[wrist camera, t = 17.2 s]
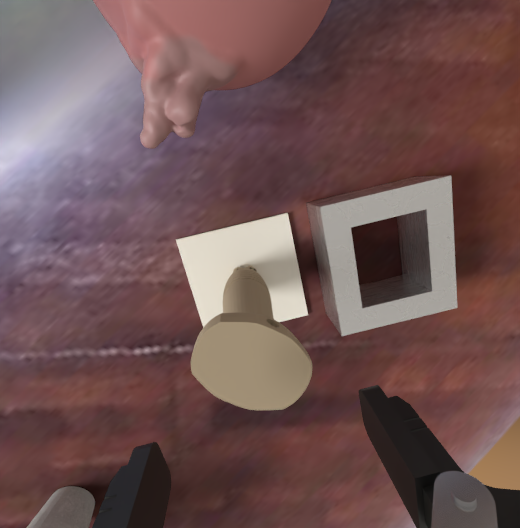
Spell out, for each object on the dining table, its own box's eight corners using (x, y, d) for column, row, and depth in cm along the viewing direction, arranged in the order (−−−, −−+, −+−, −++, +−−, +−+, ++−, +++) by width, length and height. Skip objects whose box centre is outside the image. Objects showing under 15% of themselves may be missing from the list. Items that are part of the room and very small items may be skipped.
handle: (227, 244, 29) (217, 304, 14) (284, 272, 30) (327, 354, 16) (205, 286, 30) (176, 382, 15) (261, 312, 31) (283, 423, 17)
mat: (176, 239, 29) (175, 240, 28) (287, 212, 29) (287, 213, 29) (207, 337, 32) (207, 339, 31) (307, 313, 32) (308, 314, 32)
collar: (306, 202, 29) (319, 207, 24) (415, 176, 29) (451, 175, 24) (326, 313, 32) (341, 336, 27) (424, 288, 32) (457, 307, 27)
